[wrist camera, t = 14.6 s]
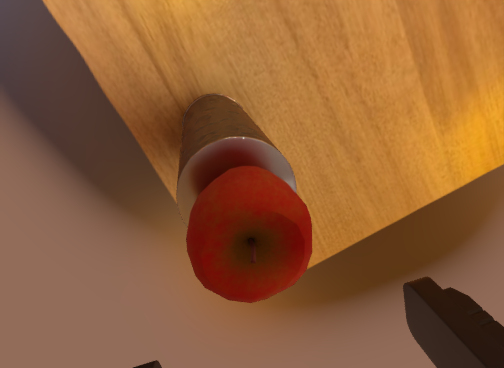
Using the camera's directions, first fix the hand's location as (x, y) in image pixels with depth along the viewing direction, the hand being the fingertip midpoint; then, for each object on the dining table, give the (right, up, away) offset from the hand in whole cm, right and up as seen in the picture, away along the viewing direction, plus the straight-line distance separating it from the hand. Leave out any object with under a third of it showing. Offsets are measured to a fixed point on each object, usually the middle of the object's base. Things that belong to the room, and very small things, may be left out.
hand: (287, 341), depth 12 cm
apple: (-2, +4, +12) cm, 13 cm away
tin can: (-5, +12, +32) cm, 35 cm away
